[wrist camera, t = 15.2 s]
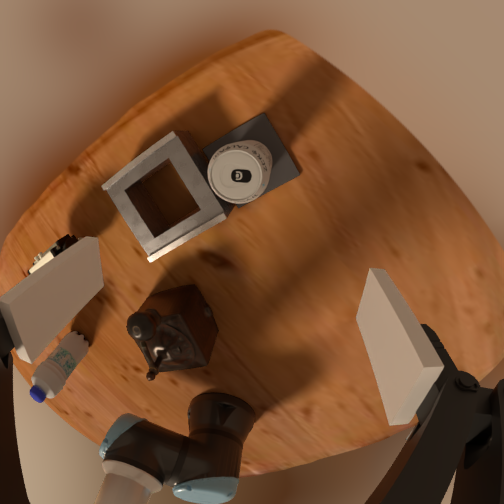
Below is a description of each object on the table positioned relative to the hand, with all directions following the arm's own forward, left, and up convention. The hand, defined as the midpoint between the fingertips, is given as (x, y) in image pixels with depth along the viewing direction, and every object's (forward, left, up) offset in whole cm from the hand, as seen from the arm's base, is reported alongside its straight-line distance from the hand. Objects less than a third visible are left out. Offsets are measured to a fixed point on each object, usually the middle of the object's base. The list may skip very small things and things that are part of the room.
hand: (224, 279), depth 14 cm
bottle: (-52, -9, -31) cm, 61 cm away
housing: (-12, +5, -31) cm, 33 cm away
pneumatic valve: (-34, +7, -31) cm, 47 cm away
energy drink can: (0, +3, -30) cm, 30 cm away
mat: (0, +3, -31) cm, 31 cm away
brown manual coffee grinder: (-23, -11, -31) cm, 40 cm away
